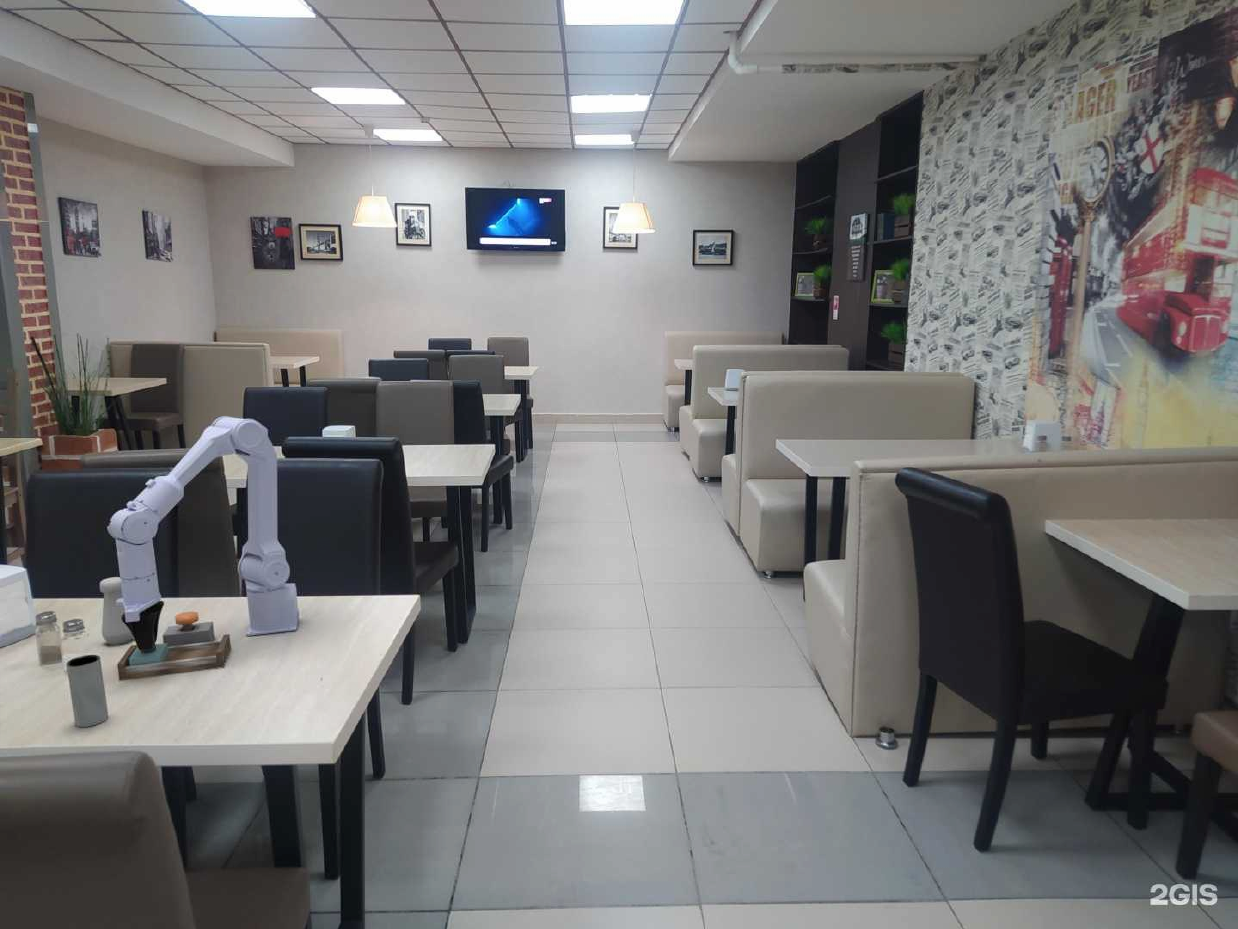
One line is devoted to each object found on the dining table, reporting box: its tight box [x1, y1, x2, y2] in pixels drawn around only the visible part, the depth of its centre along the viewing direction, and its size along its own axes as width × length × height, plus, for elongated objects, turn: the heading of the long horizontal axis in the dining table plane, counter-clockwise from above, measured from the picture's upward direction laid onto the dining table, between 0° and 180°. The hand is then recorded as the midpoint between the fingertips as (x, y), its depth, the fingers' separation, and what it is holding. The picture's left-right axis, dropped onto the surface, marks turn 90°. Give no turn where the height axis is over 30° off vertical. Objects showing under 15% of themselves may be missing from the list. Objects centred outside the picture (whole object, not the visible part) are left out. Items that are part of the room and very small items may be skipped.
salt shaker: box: [99, 576, 134, 646], centre depth 165 cm, size 6×6×13 cm
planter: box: [65, 654, 109, 728], centre depth 132 cm, size 4×4×10 cm
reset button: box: [174, 611, 200, 631], centre depth 162 cm, size 4×4×4 cm
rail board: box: [116, 633, 232, 681], centre depth 154 cm, size 17×9×3 cm, turn 107°
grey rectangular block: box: [162, 621, 216, 647], centre depth 163 cm, size 8×5×4 cm, turn 107°
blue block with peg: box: [129, 637, 168, 666], centre depth 153 cm, size 5×6×6 cm
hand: (147, 645), depth 153 cm, fingers closed on blue block with peg, 2 cm apart
